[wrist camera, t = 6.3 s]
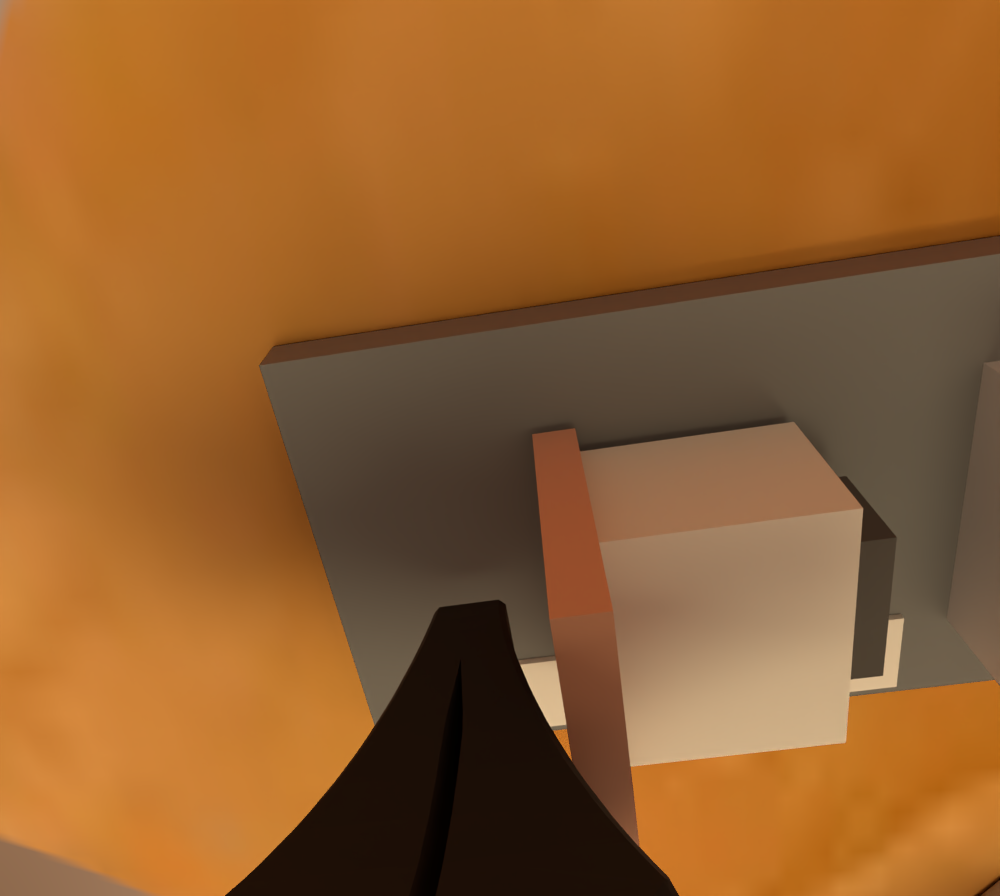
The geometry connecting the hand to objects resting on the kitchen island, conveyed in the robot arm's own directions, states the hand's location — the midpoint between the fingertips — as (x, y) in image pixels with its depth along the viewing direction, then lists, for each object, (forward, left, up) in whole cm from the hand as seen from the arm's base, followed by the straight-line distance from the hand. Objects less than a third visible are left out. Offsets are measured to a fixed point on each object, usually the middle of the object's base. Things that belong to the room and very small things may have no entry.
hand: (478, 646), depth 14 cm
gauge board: (-5, 0, -3) cm, 6 cm away
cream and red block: (-4, +1, -2) cm, 5 cm away
